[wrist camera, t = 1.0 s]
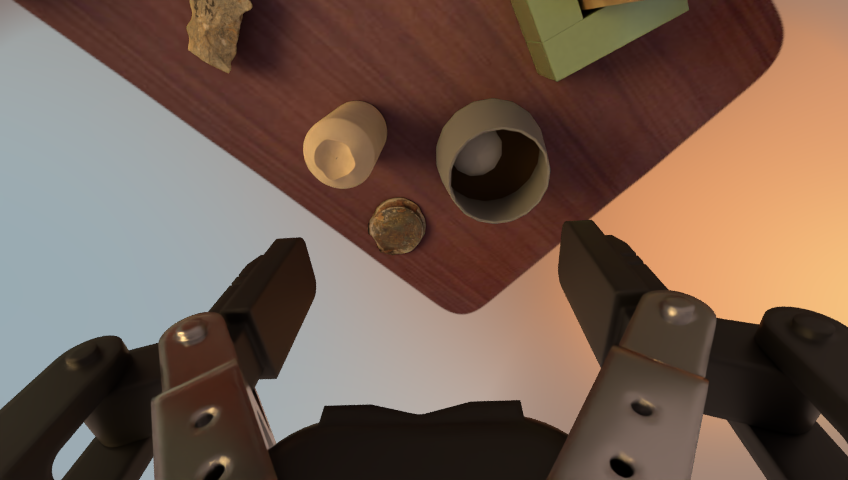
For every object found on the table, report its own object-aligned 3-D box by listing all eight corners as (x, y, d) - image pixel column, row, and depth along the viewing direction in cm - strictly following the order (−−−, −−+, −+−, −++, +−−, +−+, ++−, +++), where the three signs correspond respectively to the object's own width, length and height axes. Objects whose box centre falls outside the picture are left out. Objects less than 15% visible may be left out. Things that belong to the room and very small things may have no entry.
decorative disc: (436, 237, 42) (437, 242, 41) (387, 259, 43) (386, 264, 42) (409, 188, 39) (409, 192, 38) (357, 213, 40) (356, 217, 39)
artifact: (250, -70, 27) (232, 74, 30) (277, -48, 30) (258, 82, 33) (170, -87, 28) (159, 52, 31) (203, -64, 31) (190, 61, 34)
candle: (394, 112, 35) (380, 137, 26) (378, 165, 38) (361, 205, 29) (338, 91, 34) (304, 110, 26) (325, 147, 37) (291, 182, 28)
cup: (428, 180, 38) (425, 223, 30) (445, 84, 34) (448, 101, 25) (517, 195, 39) (540, 242, 30) (546, 102, 34) (583, 126, 26)
